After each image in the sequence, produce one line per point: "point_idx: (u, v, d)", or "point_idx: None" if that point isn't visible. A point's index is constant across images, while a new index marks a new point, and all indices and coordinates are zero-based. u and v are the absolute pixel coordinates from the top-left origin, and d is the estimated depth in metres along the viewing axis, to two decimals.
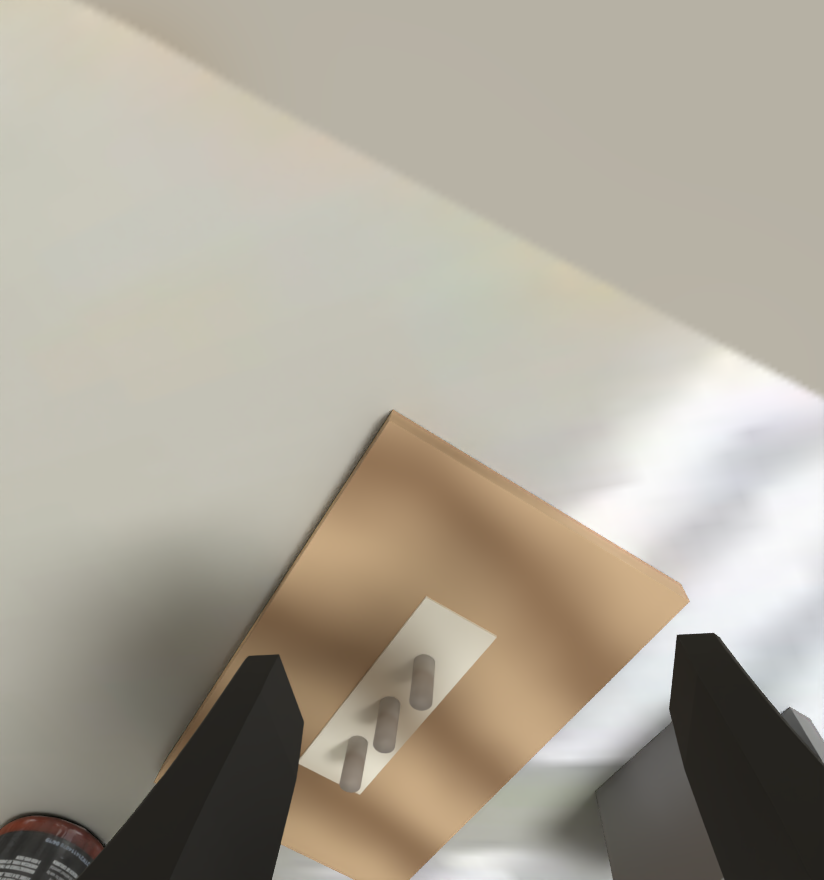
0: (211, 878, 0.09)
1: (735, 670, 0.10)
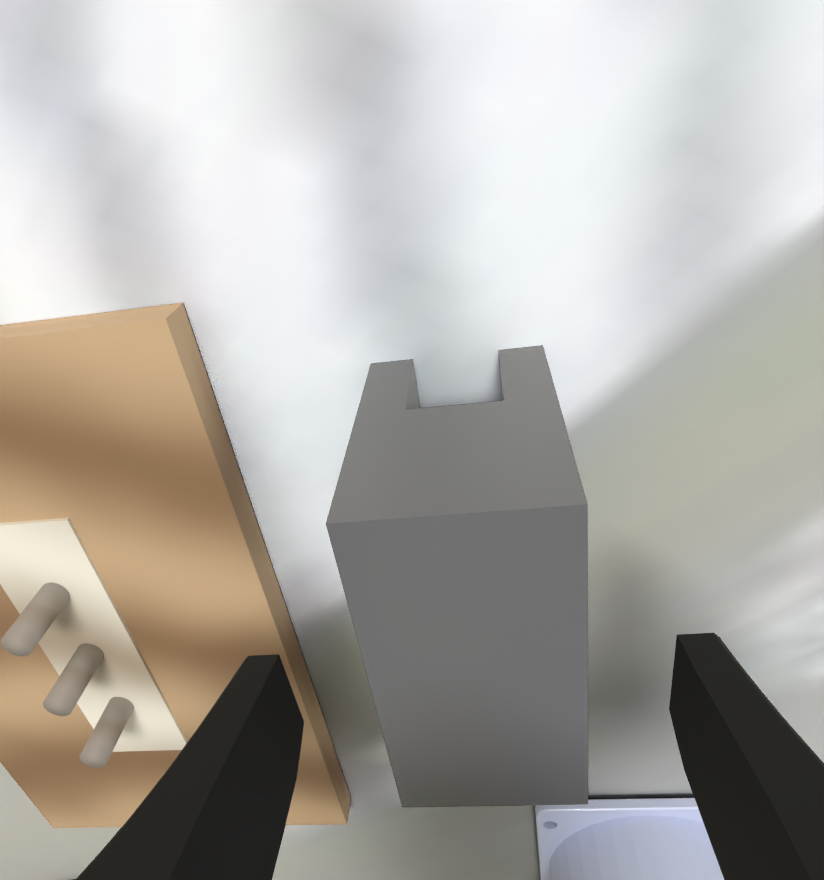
0: (211, 878, 0.09)
1: (735, 670, 0.10)
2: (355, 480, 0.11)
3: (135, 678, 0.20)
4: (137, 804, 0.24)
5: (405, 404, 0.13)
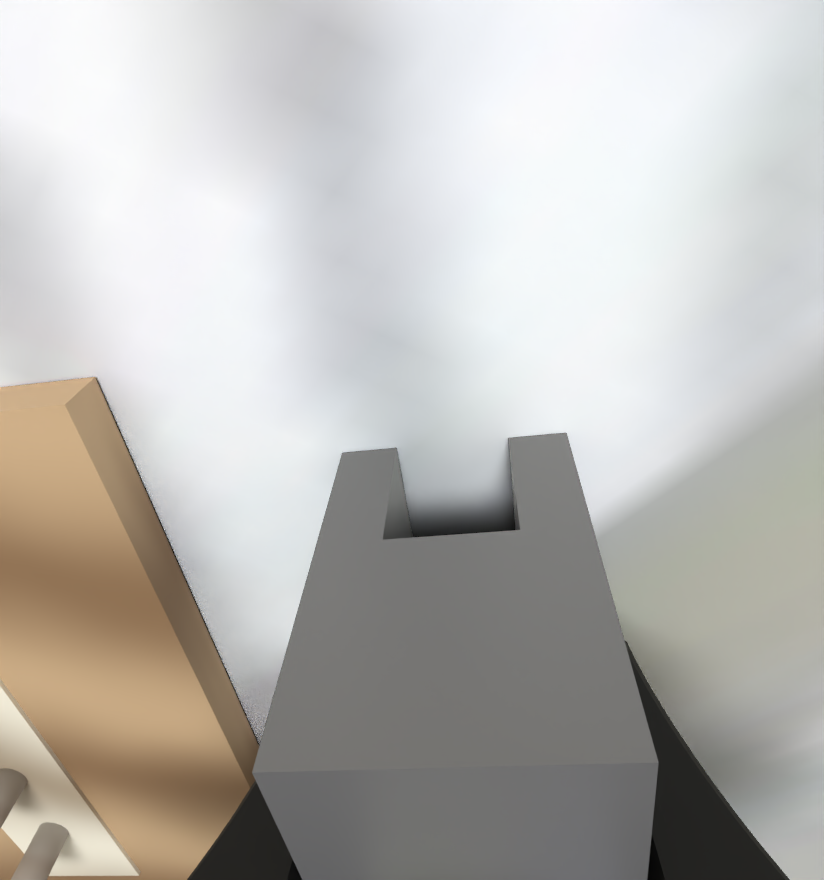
0: None
1: None
2: (303, 677, 0.07)
3: (68, 803, 0.17)
4: None
5: (383, 529, 0.10)
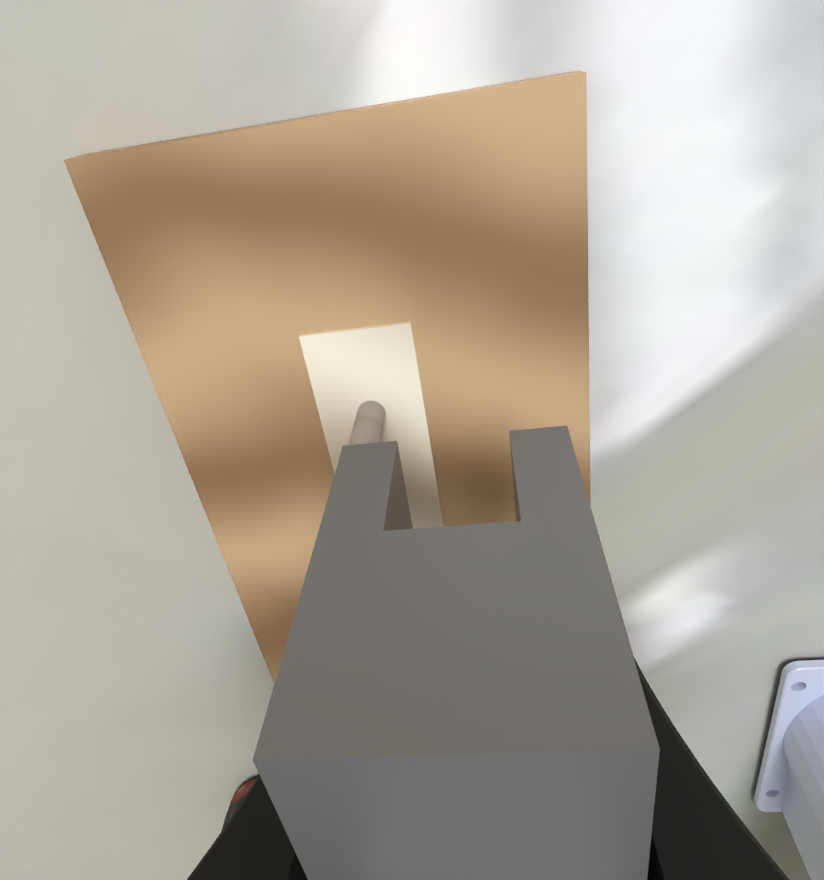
0: None
1: None
2: (304, 667, 0.07)
3: (422, 517, 0.20)
4: None
5: (384, 520, 0.10)
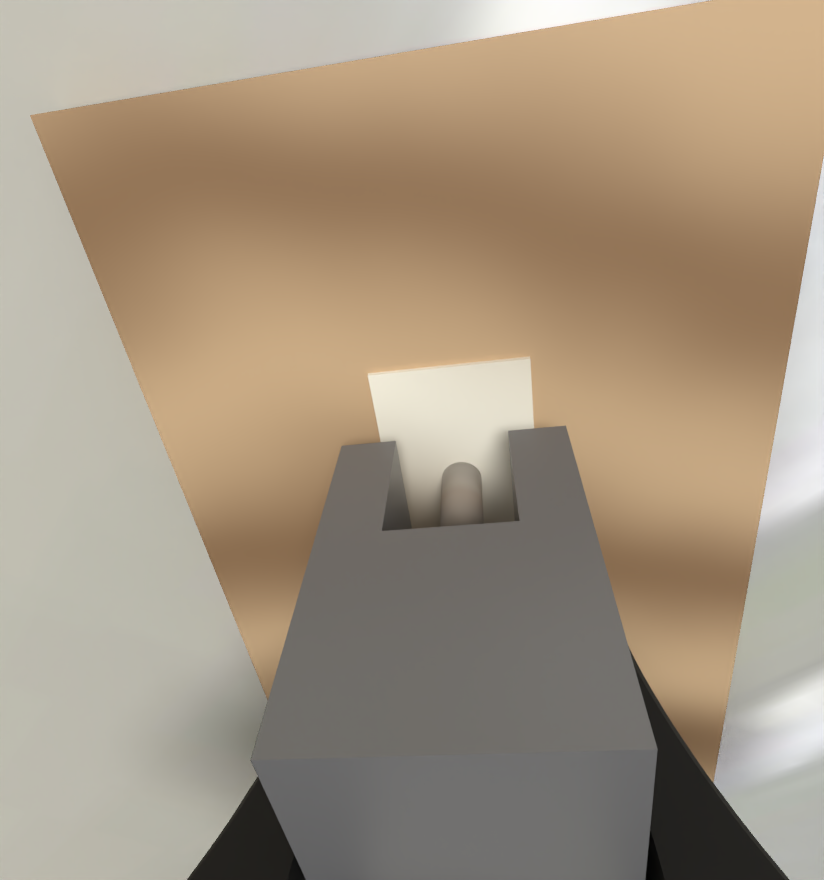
0: None
1: None
2: (302, 667, 0.07)
3: None
4: None
5: (382, 520, 0.10)
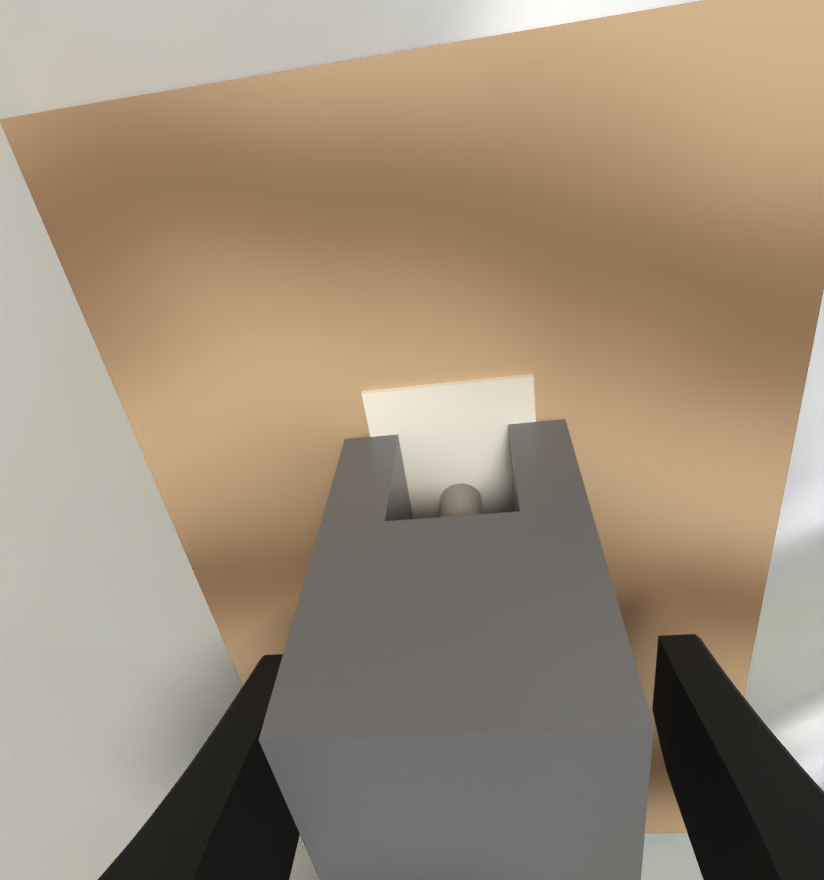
0: (232, 878, 0.09)
1: (714, 671, 0.10)
2: (308, 651, 0.08)
3: None
4: None
5: (385, 511, 0.10)
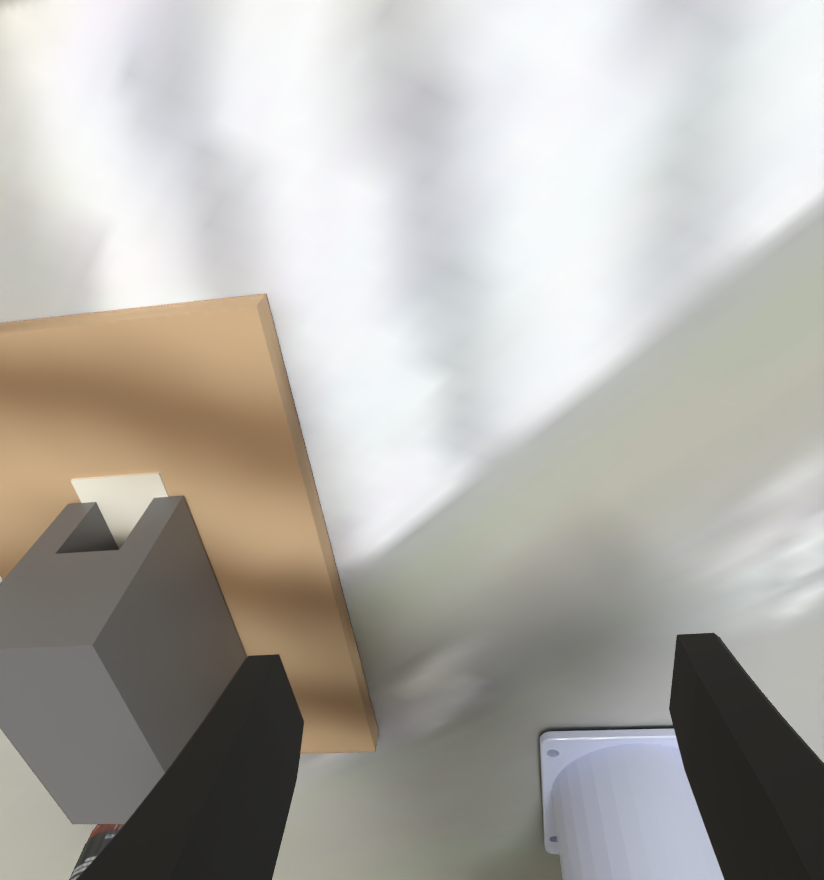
0: (211, 878, 0.09)
1: (735, 670, 0.10)
2: None
3: None
4: None
5: (59, 548, 0.19)
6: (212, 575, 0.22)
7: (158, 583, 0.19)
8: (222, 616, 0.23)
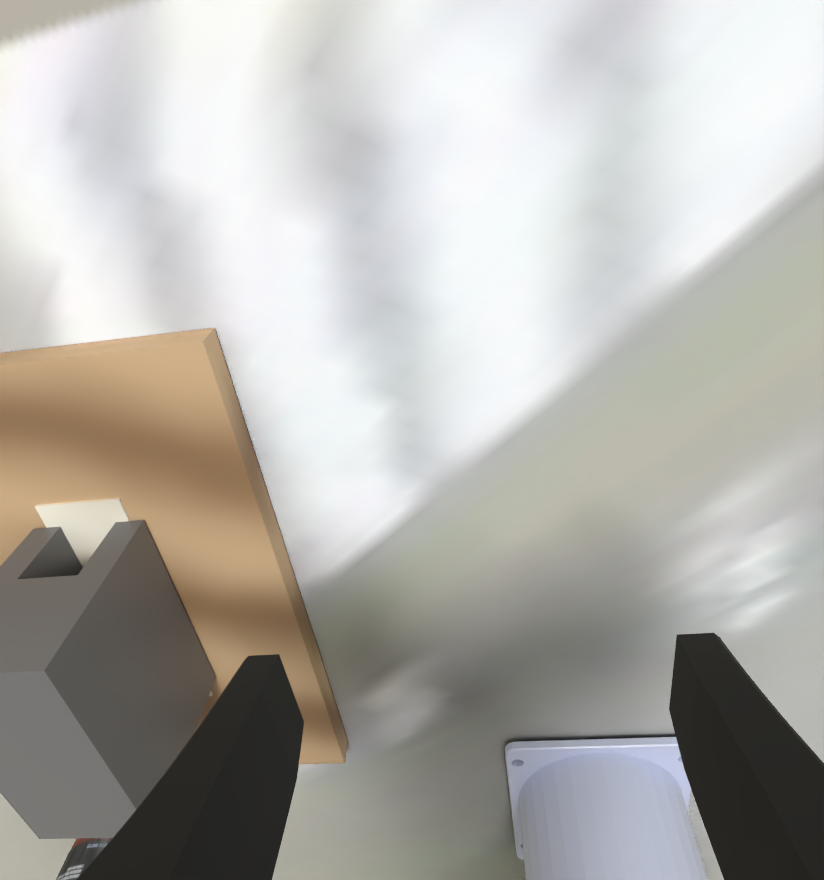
0: (211, 878, 0.09)
1: (735, 670, 0.10)
2: None
3: None
4: None
5: (21, 573, 0.20)
6: (175, 595, 0.23)
7: (116, 607, 0.19)
8: (187, 634, 0.23)
